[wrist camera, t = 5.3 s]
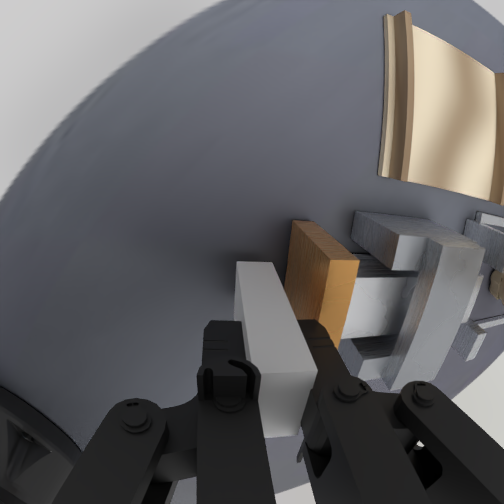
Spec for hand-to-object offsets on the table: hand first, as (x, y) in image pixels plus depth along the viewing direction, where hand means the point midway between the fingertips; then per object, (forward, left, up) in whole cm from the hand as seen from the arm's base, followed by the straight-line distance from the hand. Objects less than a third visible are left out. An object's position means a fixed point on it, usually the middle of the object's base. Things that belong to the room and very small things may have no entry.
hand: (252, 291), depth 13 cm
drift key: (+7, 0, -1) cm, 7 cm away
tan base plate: (+11, +10, -2) cm, 15 cm away
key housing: (+7, 0, -2) cm, 7 cm away
